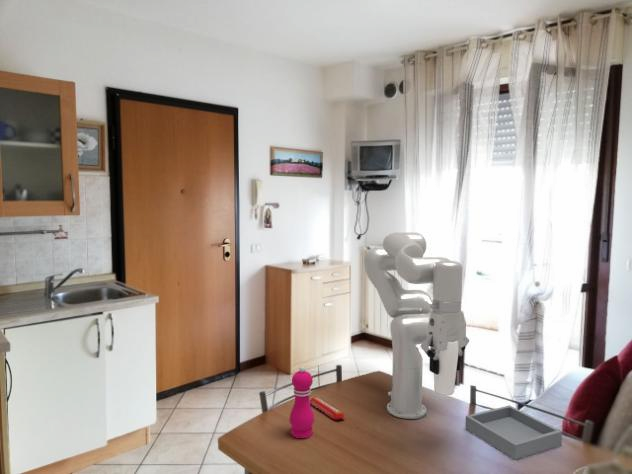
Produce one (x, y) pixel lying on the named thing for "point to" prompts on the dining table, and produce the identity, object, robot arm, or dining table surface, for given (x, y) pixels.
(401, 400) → the robot arm
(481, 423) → the tray
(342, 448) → the dining table surface
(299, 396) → the pepper mill
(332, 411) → the candy bar
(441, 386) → the drinking glass
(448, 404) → the dining table surface
